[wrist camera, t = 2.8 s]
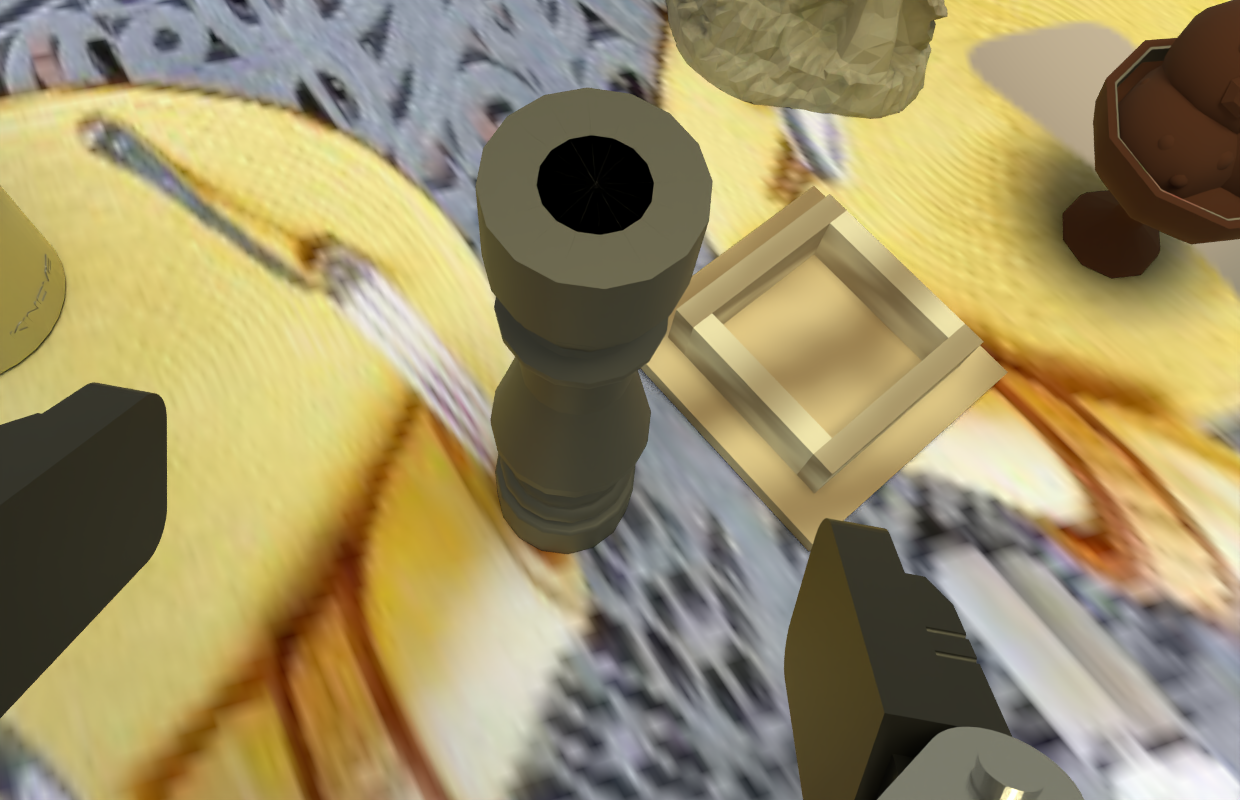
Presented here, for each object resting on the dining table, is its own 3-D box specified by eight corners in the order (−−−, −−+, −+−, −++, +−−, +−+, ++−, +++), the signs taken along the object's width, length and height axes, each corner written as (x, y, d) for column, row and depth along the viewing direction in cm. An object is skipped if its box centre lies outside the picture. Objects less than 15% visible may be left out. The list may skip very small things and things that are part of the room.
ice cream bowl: (1016, 306, 53) (1189, 129, 39) (1015, 136, 57) (1171, -78, 43) (1211, 340, 53) (1452, 176, 39) (1195, 168, 57) (1408, -35, 43)
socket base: (615, 340, 50) (622, 303, 46) (809, 196, 54) (829, 151, 50) (808, 551, 47) (832, 530, 43) (999, 380, 51) (1035, 347, 47)
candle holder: (495, 431, 48) (461, 80, 24) (623, 424, 48) (708, 78, 25) (500, 558, 45) (468, 303, 22) (634, 549, 46) (739, 294, 23)
